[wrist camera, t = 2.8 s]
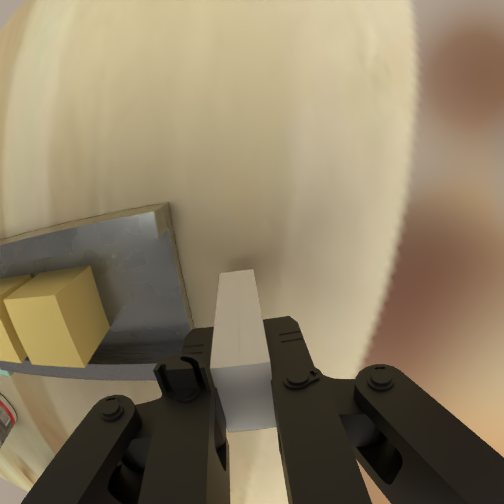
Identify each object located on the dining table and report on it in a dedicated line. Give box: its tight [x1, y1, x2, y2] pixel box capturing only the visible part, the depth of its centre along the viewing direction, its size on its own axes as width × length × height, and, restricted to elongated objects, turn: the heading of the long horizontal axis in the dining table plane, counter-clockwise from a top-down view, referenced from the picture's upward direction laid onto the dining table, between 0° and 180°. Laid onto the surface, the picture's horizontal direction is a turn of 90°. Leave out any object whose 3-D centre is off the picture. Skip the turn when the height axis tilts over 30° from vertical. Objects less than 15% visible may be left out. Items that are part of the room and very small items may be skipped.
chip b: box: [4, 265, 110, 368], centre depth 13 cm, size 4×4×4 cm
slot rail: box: [0, 202, 194, 380], centre depth 14 cm, size 16×9×3 cm, turn 97°
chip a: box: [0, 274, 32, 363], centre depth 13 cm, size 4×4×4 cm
